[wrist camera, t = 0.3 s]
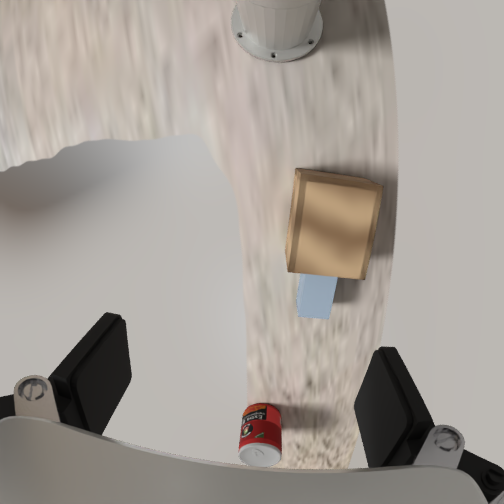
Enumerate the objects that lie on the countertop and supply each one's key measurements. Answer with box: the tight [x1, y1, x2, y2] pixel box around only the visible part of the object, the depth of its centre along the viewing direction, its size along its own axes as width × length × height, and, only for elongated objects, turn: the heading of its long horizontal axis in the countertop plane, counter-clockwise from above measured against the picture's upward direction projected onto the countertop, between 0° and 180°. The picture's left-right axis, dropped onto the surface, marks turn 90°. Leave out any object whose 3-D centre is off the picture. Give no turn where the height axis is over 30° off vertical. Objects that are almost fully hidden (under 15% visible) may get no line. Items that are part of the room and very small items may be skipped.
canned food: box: [238, 403, 282, 467], centre depth 53 cm, size 8×8×11 cm
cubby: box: [285, 168, 383, 280], centre depth 41 cm, size 12×10×8 cm
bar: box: [296, 273, 338, 319], centre depth 45 cm, size 12×4×5 cm, turn 175°
